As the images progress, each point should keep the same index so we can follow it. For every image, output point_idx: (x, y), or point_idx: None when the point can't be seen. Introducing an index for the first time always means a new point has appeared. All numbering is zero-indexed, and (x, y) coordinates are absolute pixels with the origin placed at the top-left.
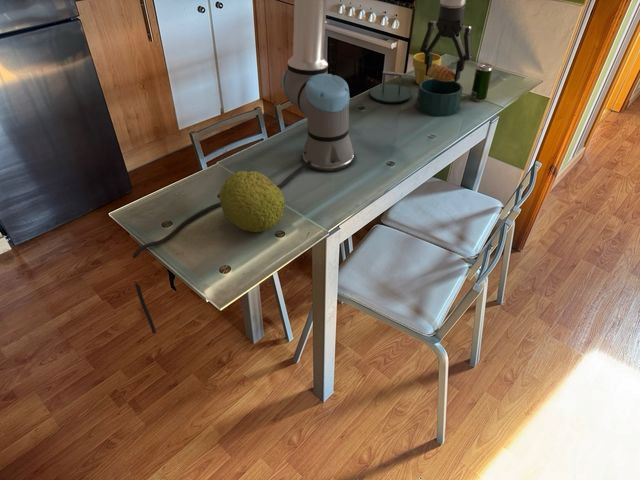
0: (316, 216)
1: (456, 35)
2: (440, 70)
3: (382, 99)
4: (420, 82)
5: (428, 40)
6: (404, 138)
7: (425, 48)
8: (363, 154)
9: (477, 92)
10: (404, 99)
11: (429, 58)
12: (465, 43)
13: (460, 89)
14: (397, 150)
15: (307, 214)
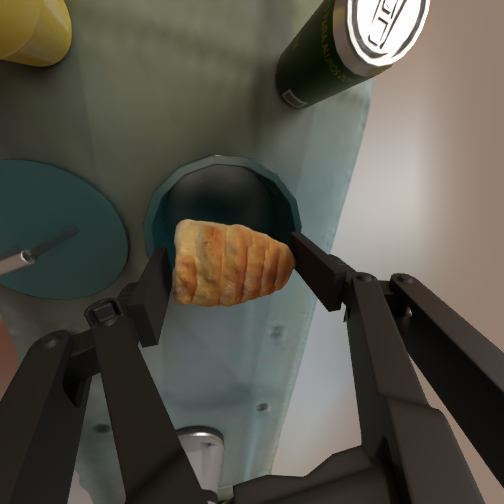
0: (252, 477)
1: (404, 451)
2: (237, 295)
3: (76, 293)
4: (32, 65)
5: (55, 445)
6: (241, 361)
7: (78, 367)
8: (218, 417)
9: (312, 103)
10: (125, 255)
11: (160, 333)
12: (458, 410)
13: (296, 224)
14: (252, 386)
15: (244, 480)
